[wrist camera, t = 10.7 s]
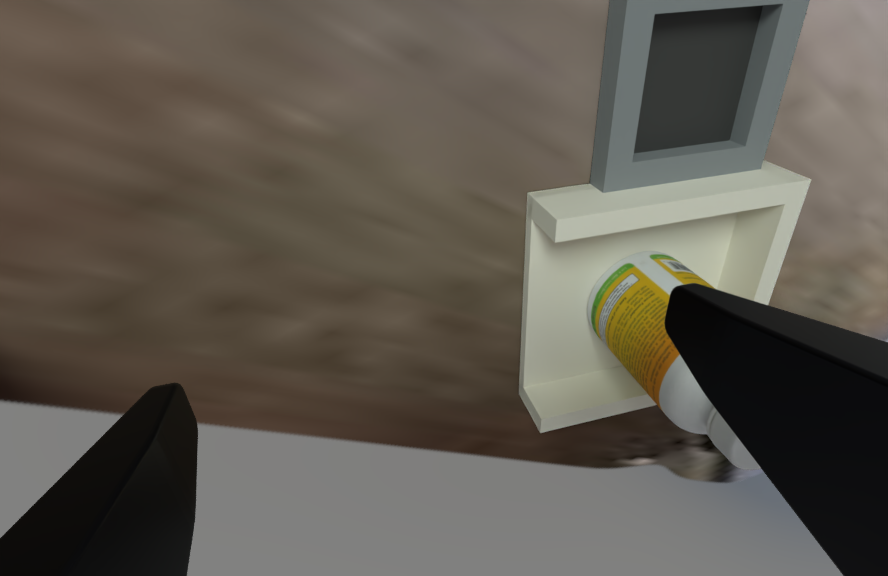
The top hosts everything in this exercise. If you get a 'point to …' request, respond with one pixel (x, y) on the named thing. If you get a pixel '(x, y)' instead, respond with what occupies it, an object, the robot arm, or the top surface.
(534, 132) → the top surface
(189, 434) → the robot arm
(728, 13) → the holed board
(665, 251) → the tray
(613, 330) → the supplement bottle
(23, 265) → the top surface
